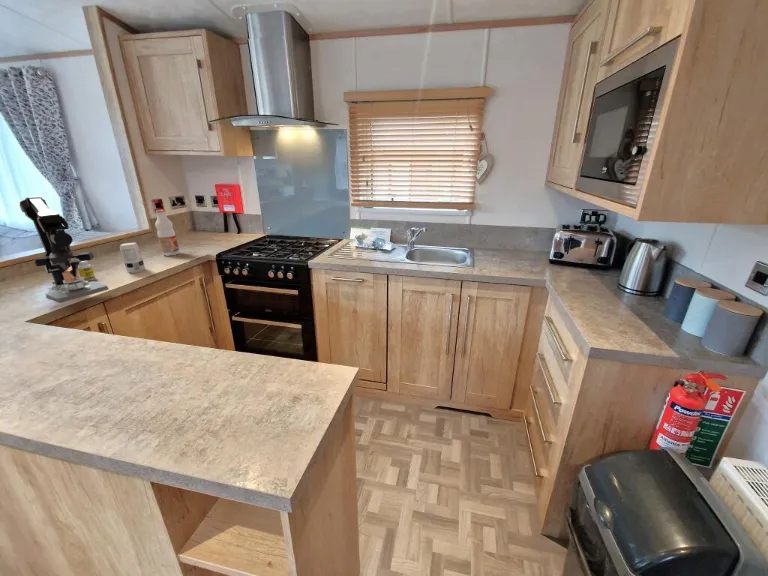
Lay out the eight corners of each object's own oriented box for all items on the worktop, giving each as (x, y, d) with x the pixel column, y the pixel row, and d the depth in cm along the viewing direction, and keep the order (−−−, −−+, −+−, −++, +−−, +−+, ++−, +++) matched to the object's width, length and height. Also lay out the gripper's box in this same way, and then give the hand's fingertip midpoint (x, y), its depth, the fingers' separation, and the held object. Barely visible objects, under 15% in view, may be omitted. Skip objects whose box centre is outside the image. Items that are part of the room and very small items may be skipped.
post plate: (46, 296, 150) (42, 288, 148) (94, 284, 164) (91, 276, 163) (59, 302, 143) (56, 293, 142) (108, 288, 158) (105, 280, 156)
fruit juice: (161, 254, 215) (149, 210, 204) (177, 251, 221) (166, 208, 211) (165, 257, 208) (153, 211, 198) (181, 254, 214) (170, 209, 204)
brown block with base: (58, 292, 147) (51, 274, 144) (67, 285, 155) (60, 268, 152) (85, 288, 150) (78, 270, 147) (91, 282, 159) (85, 265, 156)
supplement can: (123, 272, 181) (115, 245, 176) (139, 267, 188) (131, 241, 183) (133, 273, 178) (125, 246, 173) (148, 269, 185) (141, 242, 180)
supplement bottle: (87, 281, 168) (80, 262, 164) (79, 281, 169) (72, 262, 165) (98, 278, 173) (91, 259, 169) (89, 277, 174) (83, 259, 170)
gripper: (22, 250, 135) (37, 286, 140) (80, 244, 142) (92, 278, 148) (34, 244, 144) (48, 278, 150) (88, 239, 152) (99, 272, 157)
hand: (72, 277), depth 151 cm, fingers closed on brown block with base, 2 cm apart
